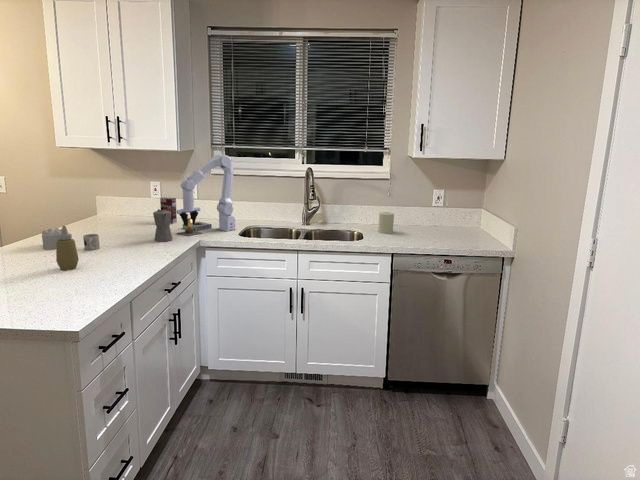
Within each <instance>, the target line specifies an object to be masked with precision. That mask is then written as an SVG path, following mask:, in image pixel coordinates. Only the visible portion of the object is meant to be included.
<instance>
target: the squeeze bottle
mask: <svg viewBox="0 0 640 480" xmlns="http://www.w3.org/2000/svg"><path fill="white" fill-rule="evenodd" d="M61 229H62V232H61V234H60V235H58V236H59V239H60V240H58V241H57V242H56V249H55V250H56V259H55V261H56V263H57V266H58V267H59V269H60V271H61V270H62V271H71V270H75V269H77V266H78V264H79V261H80V259H79V255H78V250H77V245H76V240H75V239H73V238H72V237H73V236H72V233H69V231H68V229H67V226H66V225H62V226H61Z"/></svg>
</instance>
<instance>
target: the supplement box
mask: <svg viewBox="0 0 640 480" xmlns="http://www.w3.org/2000/svg"><path fill="white" fill-rule="evenodd" d="M159 201H160V207H164V208H163V210H165V211H170V212H171V221H170V225H171V224H173V225H174V224H177V222H178V219H177V218H178V217H177V215H178V214H177V198H175V197H164V196H163V197H160V198H159Z"/></svg>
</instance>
